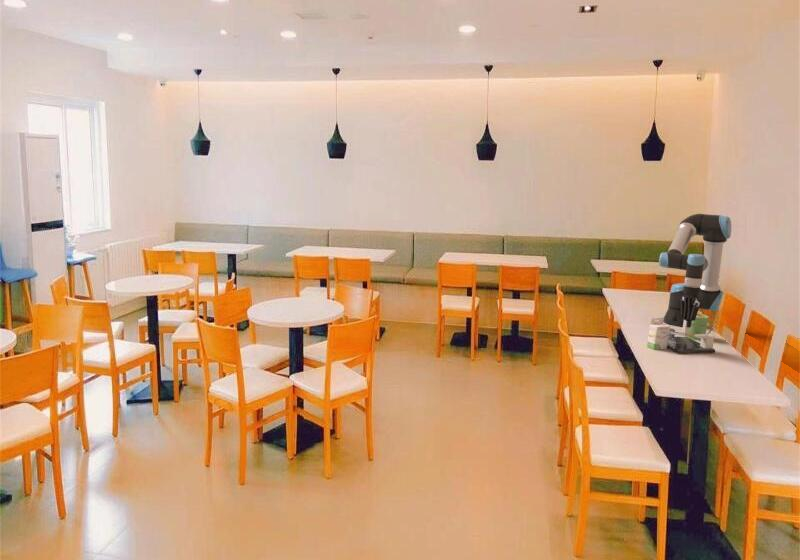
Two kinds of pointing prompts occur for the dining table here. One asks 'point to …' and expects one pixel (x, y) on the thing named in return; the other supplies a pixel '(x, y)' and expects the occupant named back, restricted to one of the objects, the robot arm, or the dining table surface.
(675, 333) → the strap
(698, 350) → the base tray
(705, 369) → the dining table surface
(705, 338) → the lug slider
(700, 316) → the mug
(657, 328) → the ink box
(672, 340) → the heat sink
